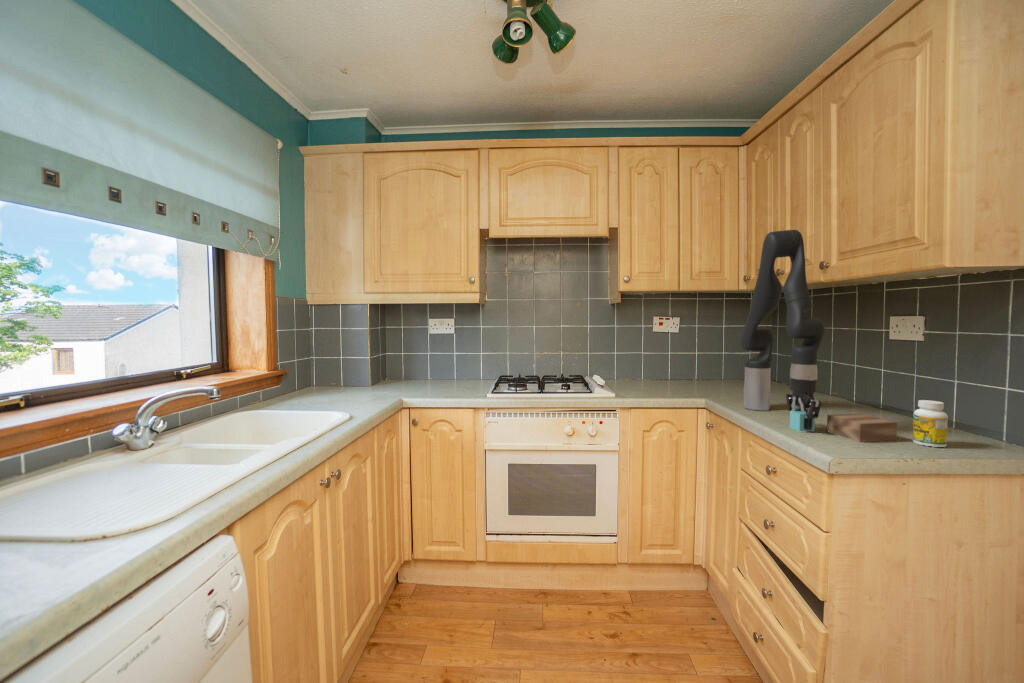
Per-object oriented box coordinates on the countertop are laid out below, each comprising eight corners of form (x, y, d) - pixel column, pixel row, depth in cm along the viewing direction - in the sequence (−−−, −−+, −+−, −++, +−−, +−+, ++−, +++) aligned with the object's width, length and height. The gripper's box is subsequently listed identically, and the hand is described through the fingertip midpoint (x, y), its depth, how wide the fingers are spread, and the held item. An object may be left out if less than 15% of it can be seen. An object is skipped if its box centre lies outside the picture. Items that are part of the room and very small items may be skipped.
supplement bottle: (954, 448, 121) (956, 404, 120) (928, 448, 121) (931, 404, 120) (929, 440, 128) (931, 399, 127) (905, 441, 128) (907, 399, 127)
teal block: (789, 428, 144) (789, 410, 143) (804, 428, 144) (804, 410, 143) (799, 432, 139) (799, 414, 138) (814, 431, 139) (815, 414, 138)
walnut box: (826, 432, 139) (827, 414, 138) (860, 431, 140) (861, 413, 139) (859, 443, 127) (860, 423, 126) (896, 442, 128) (897, 422, 127)
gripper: (778, 374, 147) (777, 422, 148) (807, 380, 133) (805, 433, 134) (799, 374, 147) (798, 422, 148) (830, 380, 133) (829, 433, 134)
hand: (801, 427), depth 141 cm, fingers closed on teal block, 5 cm apart
